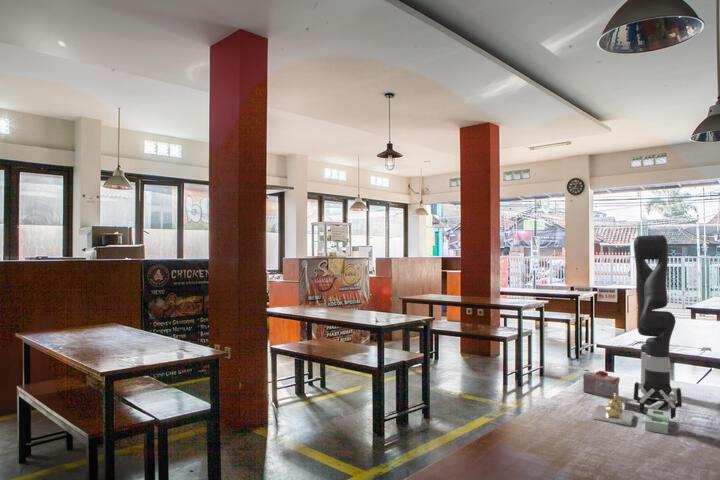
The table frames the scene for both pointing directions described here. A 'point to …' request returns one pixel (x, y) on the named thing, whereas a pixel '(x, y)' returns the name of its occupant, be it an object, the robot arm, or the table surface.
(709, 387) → the table surface
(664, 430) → the board
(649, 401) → the graphics card
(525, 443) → the table surface
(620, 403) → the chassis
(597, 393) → the food item
